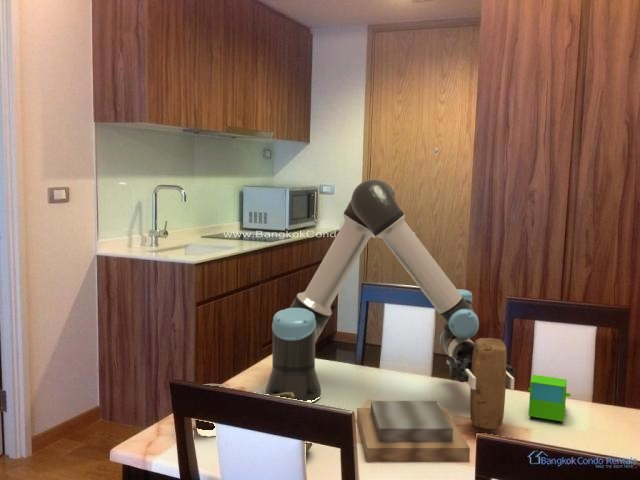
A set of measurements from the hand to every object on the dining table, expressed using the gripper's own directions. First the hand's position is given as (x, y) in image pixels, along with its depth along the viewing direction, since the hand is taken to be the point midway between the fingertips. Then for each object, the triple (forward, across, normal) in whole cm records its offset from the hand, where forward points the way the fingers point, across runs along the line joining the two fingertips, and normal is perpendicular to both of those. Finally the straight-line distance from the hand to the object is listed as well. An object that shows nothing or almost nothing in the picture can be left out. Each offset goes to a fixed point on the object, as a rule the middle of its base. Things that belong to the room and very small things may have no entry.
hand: (493, 383), depth 136 cm
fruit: (+7, +46, -14) cm, 49 cm away
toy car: (-15, -20, -13) cm, 28 cm away
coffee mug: (-5, +64, -14) cm, 66 cm away
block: (-5, 0, -11) cm, 12 cm away
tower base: (0, +19, -13) cm, 23 cm away
